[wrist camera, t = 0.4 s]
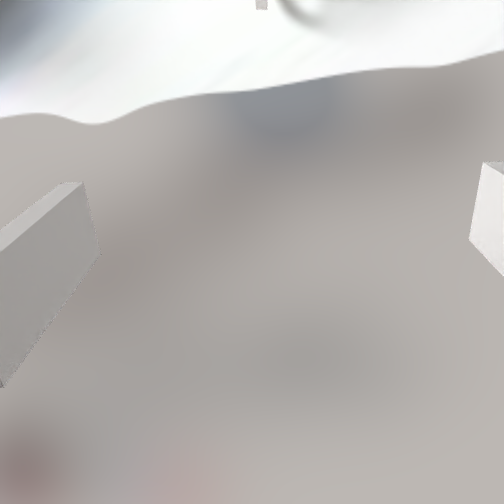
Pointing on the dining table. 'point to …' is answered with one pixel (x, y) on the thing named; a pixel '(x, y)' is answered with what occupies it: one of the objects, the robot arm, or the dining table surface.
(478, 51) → the dining table surface
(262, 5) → the cup
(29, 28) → the dining table surface
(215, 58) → the dining table surface
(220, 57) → the dining table surface
